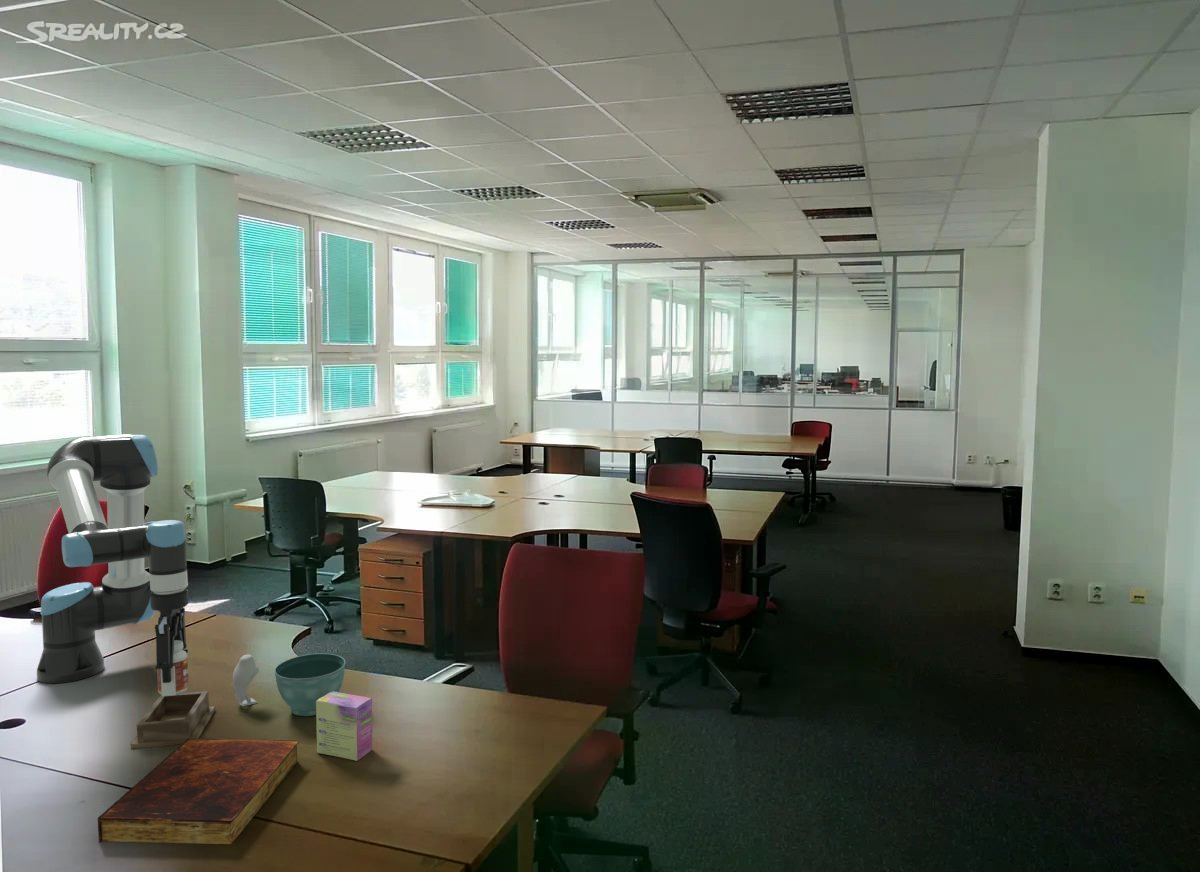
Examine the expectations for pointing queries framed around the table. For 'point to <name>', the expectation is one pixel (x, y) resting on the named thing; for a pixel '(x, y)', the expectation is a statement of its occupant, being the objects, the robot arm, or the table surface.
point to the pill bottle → (178, 668)
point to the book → (200, 792)
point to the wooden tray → (174, 720)
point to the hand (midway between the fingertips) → (173, 688)
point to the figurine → (244, 679)
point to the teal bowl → (309, 680)
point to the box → (344, 725)
